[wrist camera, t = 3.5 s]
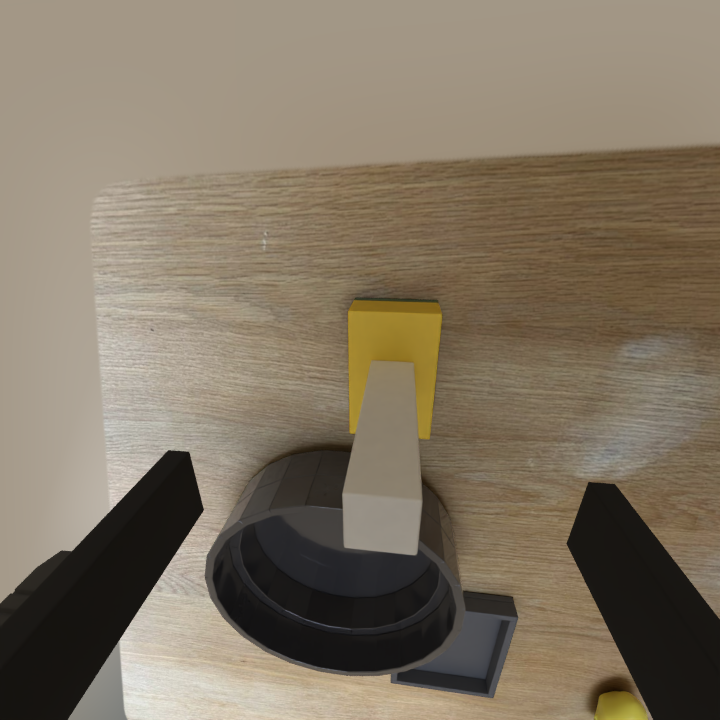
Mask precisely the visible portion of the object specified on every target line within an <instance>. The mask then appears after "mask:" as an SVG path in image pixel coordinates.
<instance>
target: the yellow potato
mask: <svg viewBox="0 0 720 720" xmlns="http://www.w3.org/2000/svg"><path fill="white" fill-rule="evenodd" d="M594 720H648V717H647V714H646V711H645V709H644V707H643V705H642V704H641V702H640V701H639V700H638V699H637V698H636V697H635V696H634V695H632V694H631V693H629V692H626V691H620V692H618V691H611V692H608V693H604V694H601V695H600V696H599V699H598V705H597V709H596V713H595V716H594Z"/></svg>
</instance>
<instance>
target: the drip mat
mask: <svg viewBox="0 0 720 720" xmlns="http://www.w3.org/2000/svg"><path fill="white" fill-rule="evenodd" d="M463 594H464V600H465V607H466V610H465V615H464V620H463V625H462V630H461V632H460V633H459V634H458V636H457V637H456V639H455V640H454V642H453V643H452V644H451V646H450V647H449V648H448V649H447V650H446V651H445V652H443V653H442V654H440V655H439V656H437V657H436V658H435V659H433V660H432V661H430V662H428V663H426V664H424V665H421V666H418V667H416V668H413V669H410V670H408V671H404V672H399V673H393V674H391V683H394V684H401V685H408V686H414V687H421V688H428V689H434V690H441V691H448V692H454V693H461V694H468V695H475V696H481V697H488V698H493V697H494V694H495V691H496V688H497V684H498V681H499V678H500V675H501V672H502V668H503V665H504V662H505V659H506V655H507V652H508V649H509V646H510V643H511V639H512V636H513V633H514V630H515V627H516V623H517V620H518V615H517V612H516V608H515V604H514V601H513V598H512V597H505V596H497V595H488V594H480V593H471V592H463Z"/></svg>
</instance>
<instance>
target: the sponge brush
mask: <svg viewBox="0 0 720 720" xmlns="http://www.w3.org/2000/svg"><path fill="white" fill-rule="evenodd" d="M441 325H442V312H441V309H440V306H439V304H438V300H418V299H385V298H355V299H354V301H353V303H352V305H351V307H350V309H349V310H348V356H349V432H350V434H355V438H354V442H353V447H352V451H351V456H350V461H349V465H348V470H347V475H346V479H345V484H344V488H343V493H342V498H343V539H344V547H345V548H351V549H360V550H369V551H379V552H388V553H397V554H406V555H416V554H417V551H418V541H419V531H420V521H421V512H422V502H423V500H422V484H421V468H420V452H419V439H430V431H431V422H432V412H433V402H434V393H435V383H436V373H437V364H438V354H439V344H440V335H441Z"/></svg>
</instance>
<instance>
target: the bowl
mask: <svg viewBox="0 0 720 720" xmlns="http://www.w3.org/2000/svg"><path fill="white" fill-rule="evenodd" d="M350 456H351V452H341V451H329V450H321V451H314V452H307V453H300V454H294V455H291V456H288V457H286V458H284V459H281V460H279V461H276V462H274V463H272V464H269V465H268V466H267V467H265V468H264V469H263V470H262V471H261V472H259V473H258V474H257V475H256V476H255V477H253V478H252V479H251V480H250V481H249V483H248V484H247V486H246V488H245V490H244V491H243V493H242V495H241V496H240V498H239V500H238V502H237V503H236V505H235V507H234V509H233V510H232V512H231V514H230V516H229V517H228V519H227V521H226V523H225V524H224V526H223V528H222V530H221V531H220V533H219V535H218V537H217V539H216V540H215V542H214V544H213V546H212V547H211V549H210V551H209V553H208V554H207V560H206V569H205V580H206V584H207V587H208V591H209V595H210V598H211V600H212V601H213V603H214V604H215V606H216V607H217V609H218V611H219V612H220V614H221V615H222V617H223V618H224V619H225V620H226V621H227V622H228V623H229V624H230V625H231V626H232V627H233V628H234V629H235V630H236V631H237V632H238V633H239V634H240V635H241V636H243V637H244V638H246V639H247V640H249V641H250V642H252V643H253V644H255V645H256V646H258V647H259V648H261V649H262V650H264V651H265V652H267V653H270V654H272V655H274V656H276V657H278V658H281V659H283V660H285V661H287V662H289V663H292V664H295V665H299V666H302V667H306V668H309V669H312V670H316V671H320V672H326V673H332V674H339V675H346V676H348V675H349V676H380V675H387V674H393V673H399V672H404V671H408V670H410V669H413V668H416V667H418V666H421V665H424V664H426V663H428V662H430V661H432V660H433V659H435V658H436V657H437V656H439V655H440V654H442V653H443V652H445V651H446V650H447V649H448V648H449V647H450V646H451V644H452V643H453V642H454V640H455V639H456V637H457V636H458V634H459V633H460V632H461V630H462V625H463V620H464V615H465V610H466V607H465V600H464V594H463V587H462V581H461V574H460V568H459V561H458V555H457V548H456V542H455V537H454V532H453V528H452V523H451V519H450V517H449V515H448V514H447V512H446V511H445V509H444V507H443V506H442V504H441V502H440V501H439V499H438V498H437V496H436V495H435V494H434V493H433V492H432V491H430V490H429V489H428V488H427V487H426V486H425V485H424V484H423V483H422V482H421V484H422V500H423V502H422V512H421V521H420V531H419V541H418V551H417V554H416V555H406V554H397V553H388V552H379V551H369V550H360V549H351V548H345V547H344V539H343V498H342V493H343V488H344V484H345V479H346V475H347V470H348V465H349V461H350Z"/></svg>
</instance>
